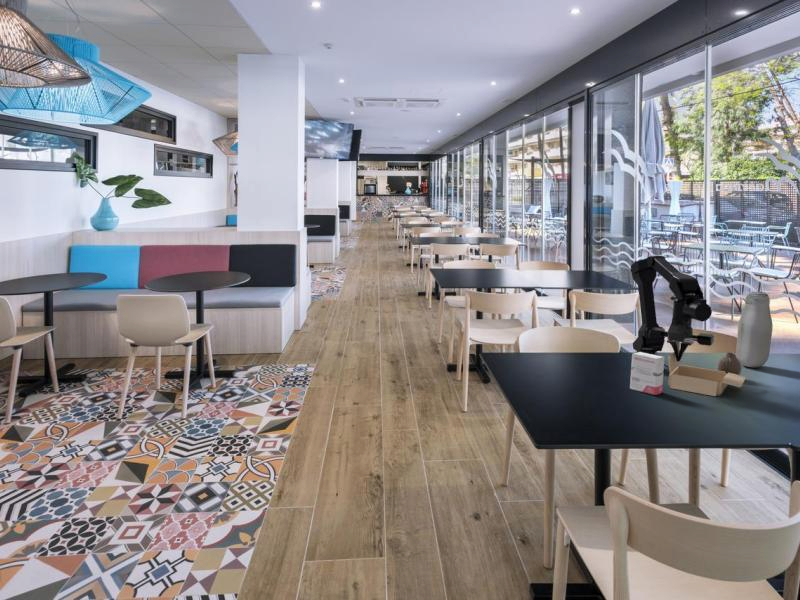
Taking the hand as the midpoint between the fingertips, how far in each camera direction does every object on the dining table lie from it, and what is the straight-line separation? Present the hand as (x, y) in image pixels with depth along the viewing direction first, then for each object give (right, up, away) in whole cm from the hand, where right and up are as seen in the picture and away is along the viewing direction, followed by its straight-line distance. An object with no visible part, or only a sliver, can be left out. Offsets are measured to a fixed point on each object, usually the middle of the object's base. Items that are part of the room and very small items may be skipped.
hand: (678, 361), depth 182 cm
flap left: (-1, -3, +1) cm, 3 cm away
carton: (+5, -8, -3) cm, 10 cm away
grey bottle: (+37, -4, +20) cm, 42 cm away
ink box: (-14, -9, -7) cm, 18 cm away
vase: (+20, -7, +6) cm, 22 cm away
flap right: (+11, -4, -8) cm, 14 cm away
